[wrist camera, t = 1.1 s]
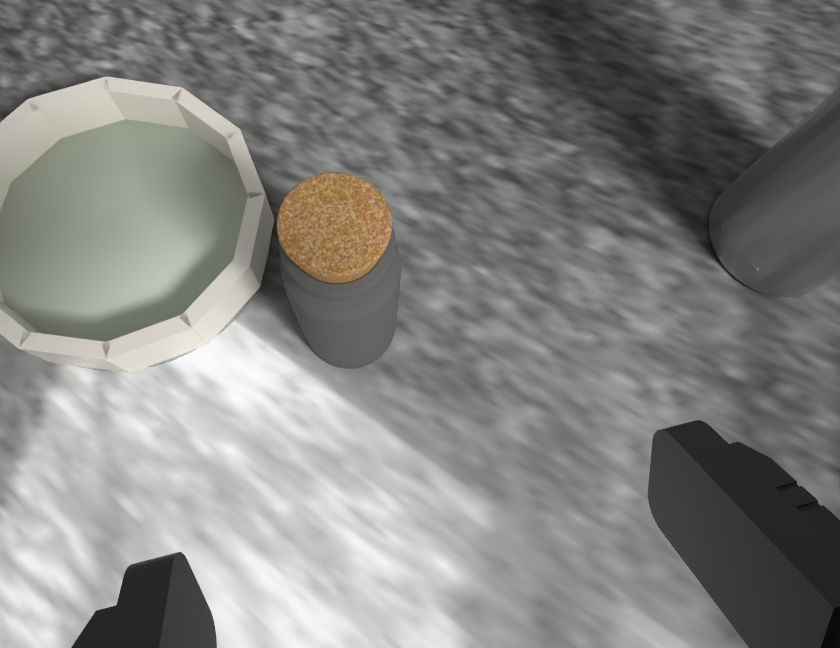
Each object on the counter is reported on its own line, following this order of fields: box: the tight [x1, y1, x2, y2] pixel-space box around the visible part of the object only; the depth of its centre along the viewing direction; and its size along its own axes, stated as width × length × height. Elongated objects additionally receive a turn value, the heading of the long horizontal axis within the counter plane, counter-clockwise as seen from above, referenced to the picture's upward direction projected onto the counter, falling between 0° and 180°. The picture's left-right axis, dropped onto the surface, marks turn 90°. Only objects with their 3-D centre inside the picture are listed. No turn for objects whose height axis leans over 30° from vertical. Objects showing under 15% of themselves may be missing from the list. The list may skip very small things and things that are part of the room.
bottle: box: [277, 172, 401, 368], centre depth 32 cm, size 6×6×15 cm
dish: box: [0, 77, 275, 373], centre depth 38 cm, size 18×18×4 cm
